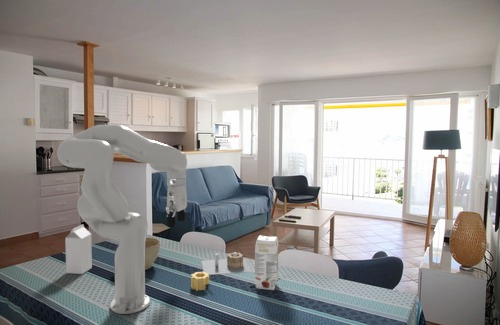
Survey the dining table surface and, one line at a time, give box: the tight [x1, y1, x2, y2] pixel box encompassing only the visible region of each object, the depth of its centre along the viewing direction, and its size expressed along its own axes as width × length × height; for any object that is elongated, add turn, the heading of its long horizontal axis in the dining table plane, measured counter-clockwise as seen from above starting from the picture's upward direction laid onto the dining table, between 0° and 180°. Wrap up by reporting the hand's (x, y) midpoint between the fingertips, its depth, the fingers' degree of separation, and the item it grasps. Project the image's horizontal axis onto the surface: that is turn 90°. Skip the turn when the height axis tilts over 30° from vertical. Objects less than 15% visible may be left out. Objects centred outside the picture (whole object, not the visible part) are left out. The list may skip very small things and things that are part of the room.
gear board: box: [201, 252, 253, 276], centre depth 146 cm, size 16×20×7 cm
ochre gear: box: [190, 271, 210, 292], centre depth 129 cm, size 7×7×4 cm
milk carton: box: [64, 224, 93, 275], centre depth 141 cm, size 7×7×19 cm
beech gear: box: [226, 252, 244, 268], centre depth 147 cm, size 7×7×4 cm
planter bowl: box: [145, 236, 161, 271], centre depth 147 cm, size 16×16×11 cm
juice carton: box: [254, 234, 279, 291], centre depth 129 cm, size 8×9×19 cm
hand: (176, 223), depth 138 cm, fingers open, 9 cm apart
